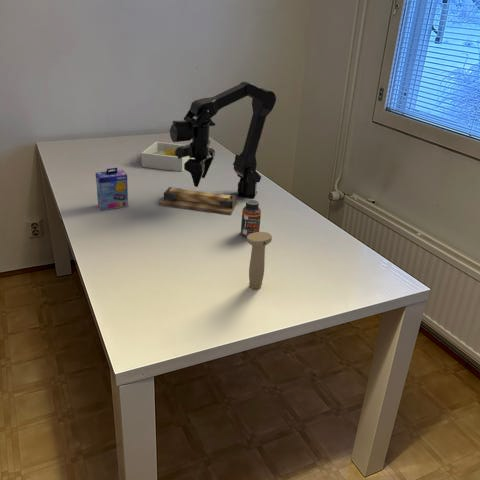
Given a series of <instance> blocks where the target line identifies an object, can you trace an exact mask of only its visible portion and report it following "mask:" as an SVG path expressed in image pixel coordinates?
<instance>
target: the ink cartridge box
mask: <svg viewBox="0 0 480 480" xmlns="http://www.w3.org/2000/svg"><path fill="white" fill-rule="evenodd" d="M95 181H96V183H95V184H96V195H97V206H98V207H99V209H100V211H106V210H113V209H121V208H126V207H127V208H128V207H129V197H128V196H129V193H128V192H129V191H128V187H129V186H128V174H127V172H125V170H124V169H118V167H112V168H106V170H104V171H98V172H95Z"/></svg>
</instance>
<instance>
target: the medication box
mask: <svg viewBox="0 0 480 480" xmlns="http://www.w3.org/2000/svg"><path fill="white" fill-rule="evenodd" d="M152 154H160V155H168V156H175V150H174V149H168V150H164V151H160V152H155V153H152Z"/></svg>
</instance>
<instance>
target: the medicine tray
mask: <svg viewBox="0 0 480 480" xmlns="http://www.w3.org/2000/svg"><path fill="white" fill-rule="evenodd" d="M185 145H186V144H180V143H170V142H162V141H155V142H153V144H151V145H150V146H148V147H147V148H146V149H145V150H143V151H142V152H141V153H140V155H141V167H142V168H148V169H149V168H151V169H158V170H166V171H175V172H184V170H185V169H184V164H185V163H186V162H187V161H188V160H189V159H194V158H189V156H186V157H182V158H181V159H178V157H177V156H176V155H175V156H168V155H160V154H152V153H155V152H160V151H164V150H168V149H174V150H176V149H177V148H178V147H181V146H185Z"/></svg>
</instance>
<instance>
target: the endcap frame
mask: <svg viewBox="0 0 480 480" xmlns="http://www.w3.org/2000/svg"><path fill="white" fill-rule="evenodd" d="M171 188H173V187H171V186H168V187H167V189H166V190H165V191H164V192H163V199H161V201H160V202H159V205H160V206H164V207H170V208H171V207H172V208H178V209H180V208H181V209H186V210H187V209H188V210H194V211H201V212H202V211H203V212H209V213H215V214H222V215H223V214H225V215H232V214H233V213H234V210H235V208H236V206H237V205H238V203H239V199H238V198H237V195H234V194H230V195H231V197H230V201H229V200H221V199H220V205H215V204H208V203H200V202H193V201H185V200H178V199H177V194H175V193H169V190H170V189H171ZM176 188H177V189H181V188H179V187H176ZM224 195H228V194H227V193H226V194H224Z"/></svg>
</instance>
